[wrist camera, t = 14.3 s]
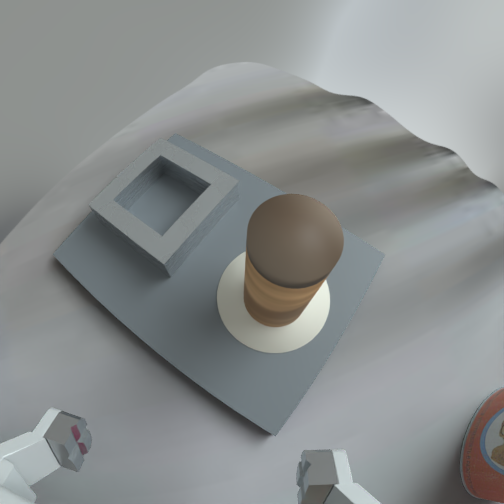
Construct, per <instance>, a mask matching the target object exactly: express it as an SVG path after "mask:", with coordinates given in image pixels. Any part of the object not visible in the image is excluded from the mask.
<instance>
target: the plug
mask: <svg viewBox="0 0 504 504" xmlns="http://www.w3.org/2000/svg"><path fill="white" fill-rule="evenodd" d="M343 246H344V236H343V231H342V227H341V225H340V223H339V221H338V219H337V218H336V216H335V215H334V214H333V212H332V211H331V210H330V209H329V208H328V207H326V206H325V205H324V204H322V203H321V202H319V201H317V200H315V199H313V198H311V197H308V196H304V195H299V194H283V195H278V196H275V197H272V198H270V199H268V200H266V201H265V202H263V203H262V204H261V205H259V206H258V207H257V208H256V210H255V211H254V212H253V214H252V216H251V218H250V220H249V223H248V227H247V240H246V258H245V276H244V304H245V307H246V309H247V311H248V313H249V314H250V315H251V317H252V318H253V319H255V320H256V321H257V322H259V323H261V324H263V325H265V326H269V327H282V326H286V325H288V324H291V323H292V322H294V321H295V320H296V319H297V318H298V317H299V316H300V315H301V314H302V312H303V311H304V309H305V308H306V307H307V305H308V304H309V303H310V301H311V300H312V298H313V297H314V295H315V294H316V293H317V291H318V290H319V288H320V287H321V286H322V284H323V283H324V281H325V280H326V278H327V277H328V275H329V274H330V272H331V271H332V270H333V268H334V267H335V265H336V264H337V262H338V261H339V259H340V257H341V255H342V251H343Z"/></svg>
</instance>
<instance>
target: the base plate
mask: <svg viewBox="0 0 504 504" xmlns="http://www.w3.org/2000/svg"><path fill="white" fill-rule="evenodd" d="M167 141H168V142H170V143H172V144H173V145H175V146H177V147H179V148H181V149H183V150H185V151H187V152H188V153H190V154H192V155H194V156H196V157H198V158H199V159H201V160H203V161H205V162H207V163H209V164H210V165H212V166H214V167H216V168H218V169H219V170H221V171H223V172H225V173H227V174H228V175H230V176H232V177H234V178H235V179H237V180H239V200H238V201H237V202H236V203H235V204H234V205H233V206H232V208H231V209H230V210H229V211H228V212H227V213H226V214H225V215H224V217H223V218H222V219H221V220H220V221H219V222H218V223H217V225H216V226H215V227H214V228H213V229H212V230H211V231H210V233H209V234H208V235H207V236H206V237H205V238H204V239H203V241H202V242H201V243H200V244H199V245H198V246H197V248H196V249H195V250H194V251H193V252H192V253H191V255H190V256H189V257H188V258H187V259H186V260H185V262H184V263H183V264H182V265H181V266H180V267H179V269H178V270H177V271H176V272H175V273H174V275H173V276H172V277H171V278H170V277H169V276H168V275H166V274H165V273H164V272H163V271H161V270H160V269H159V268H157V267H156V266H155V265H153V264H152V263H151V262H150V261H148V260H147V259H146V258H144V257H143V256H142V255H141V254H139V253H138V252H137V251H136V250H134V249H133V248H132V247H130V246H129V245H128V244H127V243H125V242H124V241H123V240H122V239H120V238H119V237H118V236H117V235H116V234H114V233H113V232H112V231H111V230H109V229H108V228H107V227H106V226H105V225H103V224H102V223H101V222H100V221H99V220H98V219H97V217H96V216H95V214H94V213H93V211H92V212H91V213H90V214H89V215H88V216H87V217H86V218H85V219H84V220H83V221H82V222H81V223H80V224H79V226H78V227H77V228H76V229H75V230H74V231H73V232H72V233H71V234H70V235H69V237H68V238H67V239H66V240H65V241H64V242H63V243H62V244H61V246H60V247H59V248H58V249H57V250H56V251H55V253H54V254H53V255H54V256H55V257H56V258H57V259H58V260H59V262H60V263H61V264H62V265H63V266H64V267H65V268H66V269H67V270H68V271H69V272H70V273H71V274H72V275H73V276H74V277H75V278H76V279H77V280H78V281H79V282H80V283H81V284H82V285H83V286H84V287H85V288H86V289H87V290H88V291H89V292H90V293H91V294H92V295H93V296H94V297H95V298H96V299H97V300H98V301H99V302H100V303H101V304H102V305H103V306H105V307H106V308H107V309H108V310H109V311H110V312H111V313H112V314H113V315H114V316H115V317H116V318H118V319H119V320H120V321H121V322H122V323H123V324H124V325H125V326H126V327H128V328H129V329H130V330H131V331H132V332H133V333H134V334H136V335H137V336H138V337H139V338H140V339H141V340H143V341H144V342H145V343H146V344H147V345H149V346H150V347H151V348H152V349H153V350H155V351H156V352H157V353H158V354H159V355H161V356H162V357H163V358H164V359H166V360H167V361H168V362H169V363H171V364H172V365H173V366H175V367H176V368H177V369H178V370H180V371H181V372H182V373H184V374H185V375H186V376H187V377H189V378H190V379H191V380H193V381H194V382H195V383H197V384H198V385H200V386H201V387H202V388H204V389H205V390H206V391H208V392H209V393H211V394H212V395H213V396H215V397H216V398H218V399H219V400H220V401H222V402H223V403H225V404H226V405H228V406H229V407H231V408H232V409H233V410H235V411H236V412H238V413H239V414H241V415H242V416H244V417H246V418H247V419H249V420H250V421H252V422H253V423H255V424H256V425H258V426H259V427H261V428H263V429H264V430H266V431H267V432H269V433H271V434H272V435H274V436H276V435H277V434H278V432H279V431H280V429H281V428H282V427H283V425H284V424H285V422H286V421H287V420H288V418H289V417H290V415H291V414H292V413H293V411H294V410H295V408H296V407H297V405H298V404H299V402H300V401H301V399H302V398H303V396H304V395H305V393H306V392H307V390H308V389H309V387H310V386H311V384H312V383H313V381H314V380H315V378H316V377H317V375H318V374H319V372H320V370H321V369H322V367H323V366H324V364H325V362H326V361H327V359H328V358H329V356H330V354H331V353H332V351H333V349H334V348H335V346H336V344H337V343H338V341H339V339H340V338H341V336H342V334H343V333H344V331H345V329H346V327H347V326H348V324H349V322H350V320H351V319H352V317H353V315H354V313H355V311H356V310H357V308H358V306H359V304H360V302H361V301H362V299H363V297H364V295H365V293H366V291H367V289H368V287H369V286H370V284H371V282H372V280H373V278H374V276H375V274H376V272H377V270H378V268H379V266H380V264H381V262H382V260H383V258H384V256H385V254H383V253H382V252H380V251H379V250H377V249H376V248H374V247H373V246H371V245H370V244H368V243H366V242H365V241H363V240H362V239H360V238H359V237H357V236H356V235H354V234H352V233H351V232H349V231H348V230H346V229H344V228H343V227H342V231H343V236H344V246H343V251H342V255H341V257H340V259H339V261H338V262H337V264H336V265H335V267H334V268H333V270H332V271H331V272H330V274H329V275H328V277H327V278H326V280H325V281H324V283H323V284H322V286H321V287H320V288H319V290H318V291H317V293H316V294H315V295H314V297H313V298H312V300H311V301H310V303H309V304H308V305H307V307H306V308H305V309H304V311H303V312H302V314H301V315H300V316H299V317H298V318H297V319H296V320H295V321H294V322H292V323H291V324H288V325H286V326H282V327H269V326H265V325H263V324H261V323H259V322H257V321H256V320H255V319H253V318H252V317H251V315H250V314H249V313H248V311H247V309H246V307H245V304H244V276H245V258H246V240H247V227H248V223H249V220H250V218H251V216H252V214H253V212H254V211H255V210H256V208H257V207H258V206H259V205H261V204H262V203H263V202H265V201H266V200H268V199H270V198H272V197H275V196H278V195H283V194H286V193H285V192H283V191H281V190H280V189H278V188H276V187H274V186H273V185H271V184H269V183H267V182H266V181H264V180H262V179H260V178H258V177H257V176H255V175H253V174H251V173H250V172H248V171H246V170H244V169H242V168H240V167H239V166H237V165H235V164H233V163H231V162H229V161H228V160H226V159H224V158H222V157H220V156H218V155H216V154H214V153H213V152H211V151H209V150H207V149H205V148H203V147H201V146H199V145H197V144H195V143H193V142H191V141H190V140H188V139H186V138H184V137H182V136H180V135H178V134H176V133H175V134H174V135H173V136H172V137H170V138H169V139H168V140H167ZM199 196H200V194H198V193H197V192H195V191H193V190H192V189H190V188H188V187H187V186H185V185H184V184H182V183H180V182H179V181H177V180H175V179H174V178H172V177H170V176H169V175H167V174H164V175H163V176H162V177H161V178H160V179H159V180H158V181H157V182H156V183H155V184H154V185H153V186H152V187H150V188H149V189H148V190H147V191H146V192H145V193H144V194H143V195H142V196H141V197H140V198H139V199H138V200H137V201H136V202H135V203H134V204H133V205H132V207H131V208H130V209H129V210H128V211H129V212H130V213H131V214H133V215H134V216H135V217H137V218H138V219H139V220H141V221H142V222H144V223H145V224H146V225H148V226H149V227H150V228H152V229H153V230H155V231H156V232H157V233H159V234H160V235H161V236H163V235H164V234H165V233H166V232H167V231H168V229H169V228H170V227H171V226H172V225H173V224H174V223H175V222H176V221H177V220H178V219H179V218H180V216H181V215H182V214H183V213H184V212H185V211H186V210H187V209H188V208H189V207H190V206H191V205H192V204H193V203H194V202H195V201H196V200H197V198H198V197H199Z"/></svg>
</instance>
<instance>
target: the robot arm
mask: <svg viewBox="0 0 504 504" xmlns="http://www.w3.org/2000/svg"><path fill="white" fill-rule="evenodd" d="M86 426H87V423H86V420H85V419H84V418H81V417H78V416H75V415H72V414H69V413H67V412H64V411H61V410H58V409H55V408H53V407H52V408H50V409H48V411H47V412H46V413H45V415H44V416H43V418H42V419H41V420H40V422H39V423H38V425H37V426H36V428H35V429H34V430H33V432H27V433H25V434H22V435H20V436H18V437H15V438H13V439H10V440H8V441H5V442H3V443H1V444H0V504H35V503H34V502H35V500H36V498H37V496H36V494H35V493H34V492H33V490H32V489H31V488H30V486H31V485H33V484H34V483H36V482H38V481H39V480H41V479H42V478H44V477H46V476H47V475H49V474H50V473H52V472H53V471H55V470H56V469H58V468H59V467H60V466H63V467H65V468H68V469H71V470H74V471H77V472H79V470H80V468H81V466H82V464H83V462H84V458H83V455H84V454H86V453H88V452H89V450H90V448H91V443H92V437H91V433H90V431H89V430H88V429H87V428H86ZM296 480H297V485H298V486H299V487H300V489H299V491H298V494H297V495H298V504H381V503H380V502H379V501H378V500H376V499H375V498H374V497H373V496H372V495H371V494H369V493H368V492H367V491H366V490H365V489H364V488H362V487H361V486H360V485H359V484H358V483H353V480H352V475H351V471H350V467H349V462H348V458H347V454H346V451H345V450H344V449H337V450H330V449H329V450H304V451H303V452H302V455H301V462H299V464H298V467H297V473H296Z"/></svg>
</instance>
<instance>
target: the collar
mask: <svg viewBox="0 0 504 504" xmlns="http://www.w3.org/2000/svg"><path fill="white" fill-rule="evenodd" d="M164 174H167V175H169V176H170V177H172V178H174V179H175V180H177V181H179V182H180V183H182V184H184V185H185V186H187V187H188V188H190V189H192V190H193V191H195V192H197V193H198V194H200V196H199V197H198V198H197V200H196V201H195V202H194V203H193V204H192V205H191V206H190V207H189V208H188V209H187V210H186V211H185V212H184V213H183V214H182V215H181V216H180V218H179V219H178V220H177V221H176V222H175V223H174V224H173V225H172V226H171V227H170V228H169V229H168V231H167V232H166V233H165V234H164V235H163V236H161V235H160V234H159V233H157V232H156V231H155V230H153V229H152V228H150V227H149V226H148V225H146V224H145V223H144V222H142V221H141V220H139V219H138V218H137V217H135V216H134V215H133V214H131V213H130V212H129V211H128V210H129V209H130V208H131V207H132V205H133V204H134V203H135V202H136V201H137V200H138V199H139V198H140V197H141V196H142V195H143V194H144V193H145V192H146V191H147V190H148V189H149V188H150V187H152V186H153V185H154V184H155V183H156V182H157V181H158V180H159V179H160V178H161V177H162V176H163V175H164ZM238 200H239V180H237V179H235V178H234V177H232V176H230V175H228V174H227V173H225V172H223V171H221V170H219V169H218V168H216V167H214V166H212V165H210V164H209V163H207V162H205V161H203V160H201V159H199V158H198V157H196V156H194V155H192V154H190V153H188V152H187V151H185V150H183V149H181V148H179V147H177V146H175V145H173V144H172V143H170V142H168V141H166V140H164V139H162V138H159V139H158V140H157V141H156V142H155V143H154V144H152V145H151V146H150V147H149V148H148V149H147V150H145V151H144V152H143V153H142V154H141V155H140V156H139V157H138V158H136V159H135V160H134V161H133V162H132V163H131V164H130V165H129V166H128V167H127V168H125V169H124V170H123V171H122V172H121V173H120V174H119V175H118V176H117V177H116V178H115V179H114V180H113V181H112V182H111V183H110V184H109V185H108V186H107V187H106V188H105V189H104V190H102V191H101V192H100V193H99V194H98V195H97V196H96V197H95V198H94V199H93V201H92V202H91V203H90V204H89V206H90V208H91V210H92V211H93V213H94V214H95V216H96V217H97V219H98V220H99V221H100V222H101V223H102V224H103V225H105V226H106V227H107V228H108V229H109V230H111V231H112V232H113V233H114V234H116V235H117V236H118V237H119V238H120V239H122V240H123V241H124V242H125V243H127V244H128V245H129V246H130V247H132V248H133V249H134V250H136V251H137V252H138V253H139V254H141V255H142V256H143V257H144V258H146V259H147V260H148V261H150V262H151V263H152V264H153V265H155V266H156V267H157V268H159V269H160V270H161V271H163V272H164V273H165V274H166V275H168V276H169V277H170V278H171V277H172V276H173V275H174V273H175V272H176V271H177V270H178V269H179V267H180V266H181V265H182V264H183V263H184V262H185V260H186V259H187V258H188V257H189V256H190V255H191V253H192V252H193V251H194V250H195V249H196V248H197V246H198V245H199V244H200V243H201V242H202V241H203V239H204V238H205V237H206V236H207V235H208V234H209V233H210V231H211V230H212V229H213V228H214V227H215V226H216V225H217V223H218V222H219V221H220V220H221V219H222V218H223V217H224V215H225V214H226V213H227V212H228V211H229V210H230V209H231V208H232V206H233V205H234V204H235V203H236V202H237V201H238Z"/></svg>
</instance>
